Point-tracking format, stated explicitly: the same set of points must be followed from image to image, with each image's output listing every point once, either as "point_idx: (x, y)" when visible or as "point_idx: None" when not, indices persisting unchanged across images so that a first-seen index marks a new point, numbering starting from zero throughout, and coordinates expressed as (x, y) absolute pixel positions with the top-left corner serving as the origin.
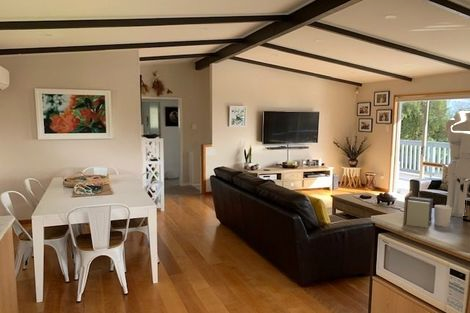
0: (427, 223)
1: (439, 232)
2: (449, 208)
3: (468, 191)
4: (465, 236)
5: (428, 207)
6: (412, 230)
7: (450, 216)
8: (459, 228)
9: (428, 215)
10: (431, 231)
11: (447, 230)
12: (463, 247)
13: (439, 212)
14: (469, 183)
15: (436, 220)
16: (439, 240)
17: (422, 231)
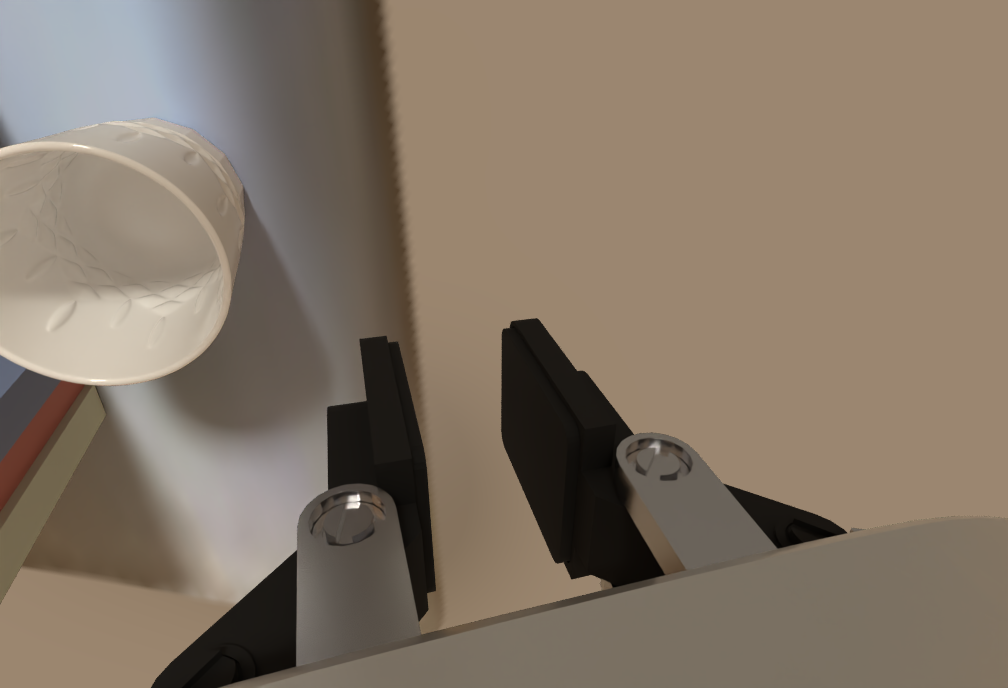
0: (86, 443)
1: (240, 460)
2: (217, 334)
3: (513, 457)
4: (425, 423)
5: (4, 587)
6: (42, 557)
7: (239, 230)
8: (352, 218)
9: (53, 495)
10: (178, 478)
11: (277, 362)
12: (435, 615)
13: (110, 346)
14: (597, 503)
15: (106, 273)
16: None
17: (120, 526)
